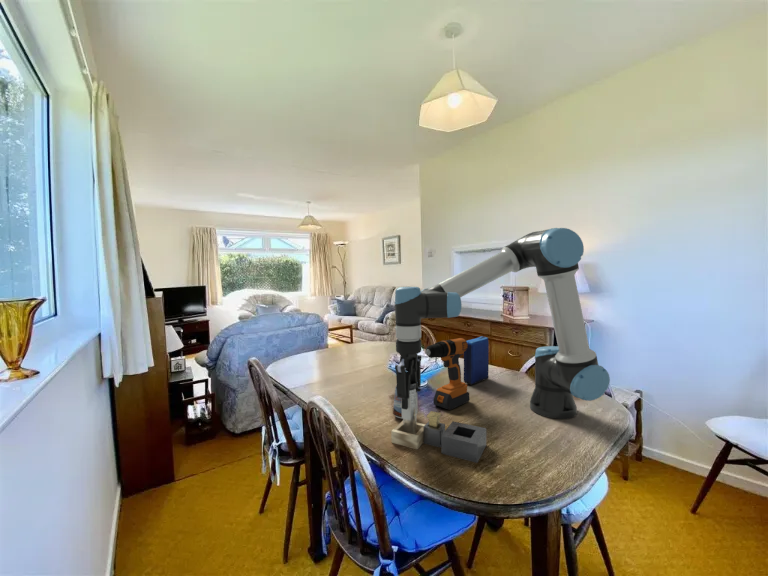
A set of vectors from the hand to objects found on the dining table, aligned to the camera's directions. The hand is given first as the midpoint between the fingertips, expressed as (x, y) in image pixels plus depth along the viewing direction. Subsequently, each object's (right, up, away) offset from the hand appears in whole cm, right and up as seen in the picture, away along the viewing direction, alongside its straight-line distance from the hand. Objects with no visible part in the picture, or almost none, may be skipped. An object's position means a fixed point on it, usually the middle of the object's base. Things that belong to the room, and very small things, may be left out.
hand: (409, 415), depth 103 cm
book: (+34, -4, +52) cm, 63 cm away
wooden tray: (0, -8, +1) cm, 8 cm away
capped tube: (0, -6, 0) cm, 6 cm away
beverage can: (-1, -7, +19) cm, 20 cm away
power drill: (+16, -7, +27) cm, 32 cm away
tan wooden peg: (+7, -7, -1) cm, 10 cm away
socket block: (+12, -8, -4) cm, 15 cm away
